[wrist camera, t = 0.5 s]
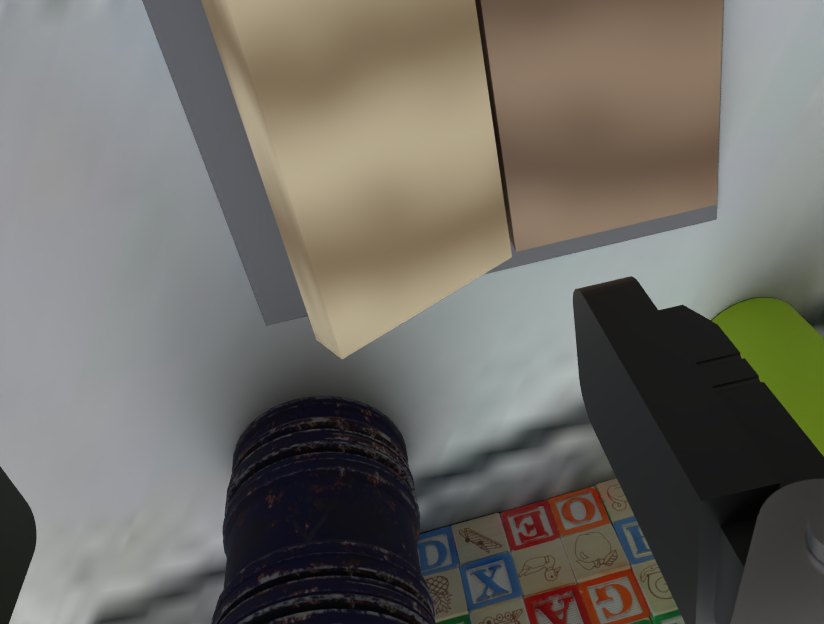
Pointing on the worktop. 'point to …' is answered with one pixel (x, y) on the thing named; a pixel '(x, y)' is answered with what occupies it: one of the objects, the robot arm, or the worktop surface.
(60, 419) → the worktop surface
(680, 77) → the walnut plank
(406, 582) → the storage jar
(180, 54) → the underlay mat
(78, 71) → the worktop surface
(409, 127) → the oak plank
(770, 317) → the soap dispenser
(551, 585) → the stack of blocks
